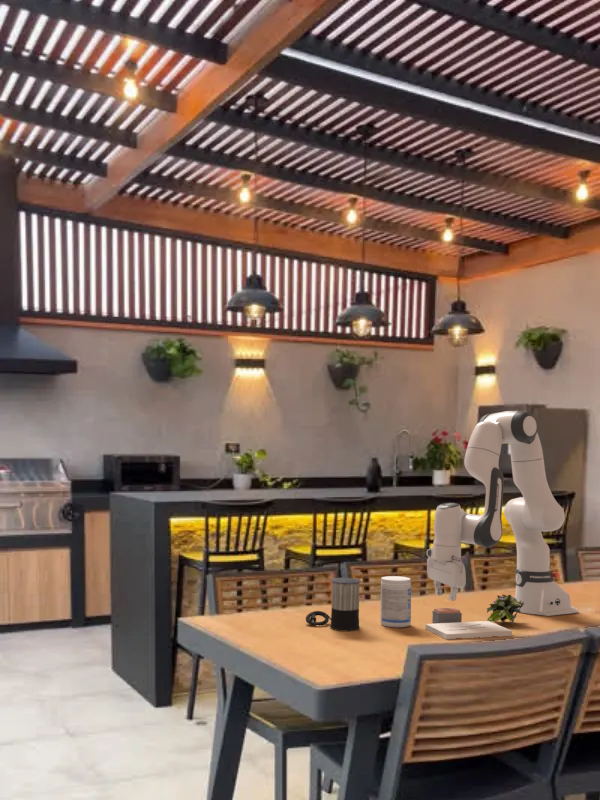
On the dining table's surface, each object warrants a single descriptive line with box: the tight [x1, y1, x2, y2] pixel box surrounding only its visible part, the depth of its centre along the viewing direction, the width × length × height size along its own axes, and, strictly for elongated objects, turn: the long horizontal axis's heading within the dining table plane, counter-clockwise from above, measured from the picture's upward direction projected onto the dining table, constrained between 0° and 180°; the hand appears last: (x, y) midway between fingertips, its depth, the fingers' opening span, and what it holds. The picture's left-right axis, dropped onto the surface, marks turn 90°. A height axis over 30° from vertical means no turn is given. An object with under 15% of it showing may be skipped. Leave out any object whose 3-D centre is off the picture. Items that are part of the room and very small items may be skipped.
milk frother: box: [305, 577, 361, 632], centre depth 261 cm, size 14×16×15 cm
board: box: [424, 620, 513, 640], centre depth 257 cm, size 22×14×2 cm, turn 107°
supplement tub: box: [380, 575, 412, 629], centre depth 265 cm, size 10×10×15 cm
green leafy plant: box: [486, 593, 524, 627], centre depth 270 cm, size 11×11×12 cm
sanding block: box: [431, 607, 463, 624], centre depth 268 cm, size 8×4×5 cm, turn 104°
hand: (445, 597), depth 268 cm, fingers open, 8 cm apart
